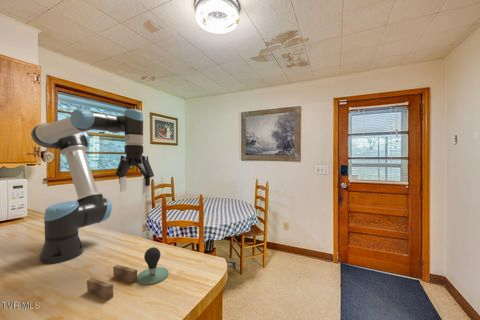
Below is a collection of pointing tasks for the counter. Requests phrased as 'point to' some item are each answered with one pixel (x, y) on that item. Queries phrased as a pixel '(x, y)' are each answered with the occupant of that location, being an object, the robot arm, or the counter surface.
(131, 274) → the pair of wooden planks
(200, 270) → the counter surface
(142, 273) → the pad
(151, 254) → the light bulb
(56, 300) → the counter surface
